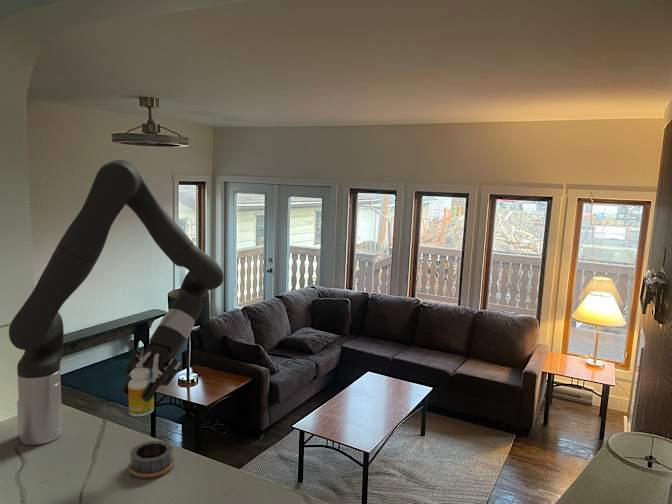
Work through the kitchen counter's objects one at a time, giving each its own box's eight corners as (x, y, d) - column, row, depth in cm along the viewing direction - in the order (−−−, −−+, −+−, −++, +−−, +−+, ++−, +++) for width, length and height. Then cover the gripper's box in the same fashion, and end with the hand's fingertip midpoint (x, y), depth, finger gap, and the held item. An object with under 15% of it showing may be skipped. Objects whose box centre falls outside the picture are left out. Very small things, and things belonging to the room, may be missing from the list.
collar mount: (118, 471, 115) (118, 454, 114) (152, 451, 124) (152, 436, 123) (150, 484, 110) (150, 467, 110) (183, 462, 119) (183, 446, 119)
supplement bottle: (145, 418, 113) (144, 376, 111) (123, 415, 114) (122, 374, 112) (158, 407, 118) (157, 367, 117) (137, 405, 119) (136, 365, 118)
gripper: (142, 319, 123) (102, 383, 114) (187, 328, 117) (148, 397, 108) (159, 335, 128) (122, 397, 119) (203, 344, 122) (167, 410, 113)
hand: (135, 396), depth 114 cm, fingers closed on supplement bottle, 5 cm apart
